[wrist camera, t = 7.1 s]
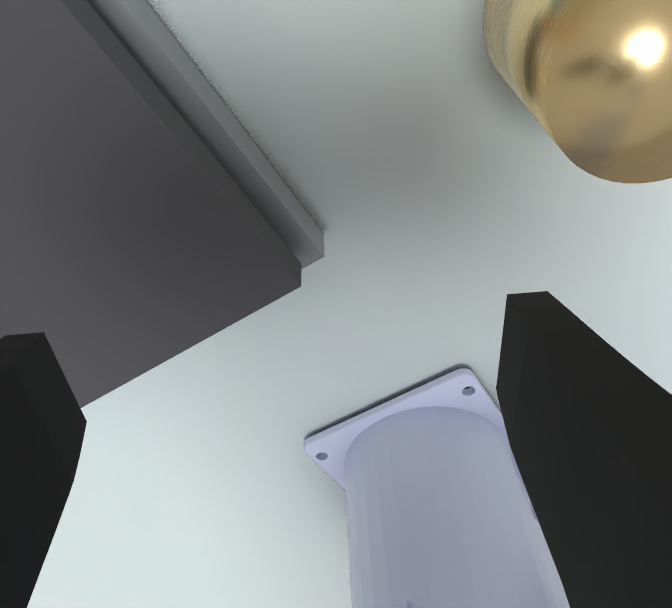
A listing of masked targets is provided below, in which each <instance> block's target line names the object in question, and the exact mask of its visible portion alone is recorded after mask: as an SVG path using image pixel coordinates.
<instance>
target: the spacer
mask: <svg viewBox="0 0 672 608" xmlns="http://www.w3.org/2000/svg"><path fill="white" fill-rule="evenodd" d="M483 29H484V39H485V43H486V48H487V51H488V54H489V56H490V59H491V61H492V63H493V65H494V67H495V68H496V70H497V72H498V73H499V74H500V75H501V77H502V78H503V79H504V80H505V82H506V83H507V84H508V85H509V86H510V88H511V89H512V90H513V91H514V93H515V94H516V95H517V96H518V97H519V99H520V100H521V101H522V102H523V104H524V105H525V106H526V107H527V108H528V110H529V111H530V112H531V113H532V114H533V116H534V117H535V118H536V119H537V121H538V122H539V123H540V124H541V125H542V127H543V128H544V129H545V130H546V132H547V133H548V134H549V135H550V136H551V138H552V139H553V140H554V141H555V143H556V144H557V145H558V146H559V147H560V149H561V150H562V151H563V152H564V153H565V155H566V156H567V157H568V158H569V159H570V160H571V161H572V162H573V163H574V164H576V165H577V166H578V167H580V168H581V169H583V170H584V171H586V172H587V173H590V174H592V175H594V176H596V177H599V178H602V179H605V180H609V181H613V182H621V183H647V182H655V181H660V180H664V179H668V178H672V0H486V1H485V8H484V20H483Z"/></svg>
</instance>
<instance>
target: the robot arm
mask: <svg viewBox="0 0 672 608" xmlns="http://www.w3.org/2000/svg"><path fill="white" fill-rule="evenodd" d="M468 386H471V387H470V388H467V389H464V388H465V387H468ZM496 391H497V395H498V399H499V404H500V408H501V412H502V413H501V412H500V410H499V409H498V407H497V406H496V405H495V403H494V402H493V400H492V399H491V397H490V396H489V395H488V393H487V392H486V390H485V389H484V387H483V386H482V385H481V383H480V382H479V380H478V379H477V377H476V376H475V375H474V373H473V372H472V371H471V370H469V369H466V368H461V369H457V370H455V371H453V372H450V373H448V374H446V375H444V376H442V377H440V378H437V379H435V380H433V381H431V382H429V383H426V384H424V385H422V386H420V387H418V388H416V389H413V390H411V391H409V392H407V393H405V394H403V395H400V396H398V397H396V398H394V399H392V400H389V401H387V402H385V403H383V404H381V405H379V406H376V407H374V408H372V409H370V410H368V411H366V412H363V413H361V414H359V415H357V416H355V417H352V418H350V419H348V420H346V421H344V422H342V423H339V424H337V425H335V426H333V427H331V428H329V429H326V430H324V431H322V432H320V433H318V434H315V435H313V436H311V437H309V438H307V439H306V440H305V442H304V452H305V453H306V454H307V455H308V456H309V457H310V458H311V459H312V460H313V461H314V462H315V463H316V464H317V465H318V466H319V467H321V468H322V469H323V470H324V471H325V472H326V473H327V474H328V475H329V476H330V477H331V478H332V479H333V480H334V481H335V482H336V483H337V484H339V485H340V486H341V487H342V488H343V489H344V490H345V491H346V507H347V526H348V544H349V563H350V581H351V600H352V608H672V395H671V394H670V393H669V392H667V391H666V390H665V389H663V388H662V387H661V386H659V385H658V384H657V383H656V382H654V381H653V380H652V379H651V378H649V377H648V376H647V375H646V374H644V373H643V372H642V371H641V370H639V369H638V368H637V367H636V366H634V365H633V364H632V363H631V362H630V361H628V360H627V359H626V358H625V357H623V356H622V355H621V354H620V353H619V352H618V351H616V350H615V349H614V348H613V347H612V346H610V345H609V344H608V343H607V342H606V341H604V340H603V339H602V338H601V337H600V336H599V335H597V334H596V333H595V332H594V331H593V330H592V329H591V328H589V327H588V326H587V325H586V324H585V323H584V322H582V321H581V320H580V319H579V318H578V317H577V316H576V315H574V314H573V313H572V312H571V311H570V310H569V309H568V308H566V307H565V306H564V305H563V304H562V303H561V302H559V301H558V300H557V299H556V298H555V297H554V296H552V295H551V294H550V293H549V292H548V291H543V292H531V293H519V294H507V300H506V309H505V318H504V326H503V335H502V344H501V352H500V361H499V370H498V378H497V387H496ZM86 422H87V421H86V419H85V417H84V415H83V413H82V411H81V409H80V407H79V405H78V402H77V400H76V398H75V396H74V394H73V392H72V390H71V388H70V386H69V384H68V382H67V379H66V377H65V375H64V373H63V371H62V369H61V367H60V365H59V363H58V361H57V359H56V356H55V354H54V352H53V350H52V348H51V346H50V344H49V342H48V340H47V338H46V336H45V333H44V332H40V333H27V334H15V335H5V336H4V337H2V338H1V339H0V608H27V605H28V603H29V600H30V597H31V595H32V592H33V589H34V587H35V584H36V582H37V579H38V576H39V574H40V571H41V568H42V566H43V563H44V560H45V558H46V555H47V552H48V550H49V547H50V544H51V542H52V539H53V536H54V534H55V531H56V528H57V526H58V523H59V520H60V517H61V515H62V512H63V509H64V506H65V504H66V501H67V498H68V496H69V493H70V490H71V487H72V484H73V481H74V477H75V473H76V469H77V465H78V461H79V457H80V452H81V447H82V442H83V437H84V432H85V427H86ZM321 452H323V453H321ZM560 579H561V580H560ZM561 582H562V583H561ZM562 585H563V586H562ZM563 588H564V589H563Z"/></svg>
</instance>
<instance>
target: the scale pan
mask: <svg viewBox="0 0 672 608" xmlns="http://www.w3.org/2000/svg"><path fill="white" fill-rule="evenodd" d="M300 286H301V262H300V261H299V260H298V259H297V257H296V256H295V255H294V254H293V252H292V251H291V250H290V249H289V247H288V246H287V245H286V244H285V243H284V241H283V240H282V239H281V238H280V236H279V235H278V234H277V233H276V232H275V230H274V229H273V228H272V227H271V225H270V224H269V223H268V222H267V221H266V219H265V218H264V217H263V216H262V214H261V213H260V212H259V211H258V210H257V208H256V207H255V206H254V205H253V203H252V202H251V201H250V200H249V199H248V197H247V196H246V195H245V194H244V192H243V191H242V190H241V189H240V188H239V186H238V185H237V184H236V183H235V181H234V180H233V179H232V178H231V176H230V175H229V174H228V173H227V172H226V170H225V169H224V168H223V167H222V165H221V164H220V163H219V162H218V161H217V159H216V158H215V157H214V156H213V154H212V153H211V152H210V151H209V150H208V148H207V147H206V146H205V145H204V143H203V142H202V141H201V140H200V139H199V137H198V136H197V135H196V134H195V132H194V131H193V130H192V129H191V128H190V126H189V125H188V124H187V123H186V121H185V120H184V119H183V118H182V116H181V115H180V114H179V113H178V112H177V110H176V109H175V108H174V107H173V105H172V104H171V103H170V102H169V101H168V99H167V98H166V97H165V96H164V94H163V93H162V92H161V91H160V90H159V88H158V87H157V86H156V85H155V83H154V82H153V81H152V80H151V79H150V77H149V76H148V75H147V74H146V72H145V71H144V70H143V69H142V68H141V66H140V65H139V64H138V63H137V61H136V60H135V59H134V58H133V57H132V55H131V54H130V53H129V52H128V50H127V49H126V48H125V47H124V45H123V44H122V43H121V42H120V41H119V39H118V38H117V37H116V36H115V34H114V33H113V32H112V31H111V30H110V28H109V27H108V26H107V25H106V23H105V22H104V21H103V20H102V19H101V17H100V16H99V15H98V14H97V12H96V11H95V10H94V9H93V8H92V6H91V5H90V4H89V3H88V1H87V0H0V339H1V338H2V337H4V336H5V335H15V334H27V333H40V332H44V333H45V336H46V338H47V340H48V342H49V344H50V346H51V348H52V350H53V352H54V354H55V356H56V359H57V361H58V363H59V365H60V367H61V369H62V371H63V373H64V375H65V377H66V379H67V382H68V384H69V386H70V388H71V390H72V392H73V394H74V396H75V398H76V400H77V402H78V405H79V407H80V408H82V407H84V406H85V405H87V404H89V403H91V402H93V401H94V400H96V399H98V398H100V397H102V396H103V395H105V394H107V393H109V392H111V391H112V390H114V389H116V388H118V387H120V386H121V385H123V384H125V383H127V382H129V381H131V380H132V379H134V378H136V377H138V376H140V375H141V374H143V373H145V372H147V371H149V370H150V369H152V368H154V367H156V366H158V365H159V364H161V363H163V362H165V361H167V360H168V359H170V358H172V357H174V356H176V355H178V354H179V353H181V352H183V351H185V350H187V349H188V348H190V347H192V346H194V345H196V344H197V343H199V342H201V341H203V340H205V339H206V338H208V337H210V336H212V335H214V334H216V333H217V332H219V331H221V330H223V329H225V328H226V327H228V326H230V325H232V324H234V323H235V322H237V321H239V320H241V319H243V318H244V317H246V316H248V315H250V314H252V313H253V312H255V311H257V310H259V309H261V308H263V307H264V306H266V305H268V304H270V303H272V302H273V301H275V300H277V299H279V298H281V297H282V296H284V295H286V294H288V293H290V292H291V291H293V290H295V289H297V288H299V287H300Z"/></svg>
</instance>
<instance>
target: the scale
mask: <svg viewBox="0 0 672 608" xmlns="http://www.w3.org/2000/svg"><path fill="white" fill-rule="evenodd" d="M87 1H88V3H89V4H90V5H91V6H92V8H93V9H94V10H95V11H96V12H97V14H98V15H99V16H100V17H101V19H102V20H103V21H104V22H105V23H106V25H107V26H108V27H109V28H110V30H111V31H112V32H113V33H114V34H115V36H116V37H117V38H118V39H119V41H120V42H121V43H122V44H123V45H124V47H125V48H126V49H127V50H128V52H129V53H130V54H131V55H132V57H133V58H134V59H135V60H136V61H137V63H138V64H139V65H140V66H141V68H142V69H143V70H144V71H145V72H146V74H147V75H148V76H149V77H150V79H151V80H152V81H153V82H154V83H155V85H156V86H157V87H158V88H159V90H160V91H161V92H162V93H163V94H164V96H165V97H166V98H167V99H168V101H169V102H170V103H171V104H172V105H173V107H174V108H175V109H176V110H177V112H178V113H179V114H180V115H181V116H182V118H183V119H184V120H185V121H186V123H187V124H188V125H189V126H190V128H191V129H192V130H193V131H194V132H195V134H196V135H197V136H198V137H199V139H200V140H201V141H202V142H203V143H204V145H205V146H206V147H207V148H208V150H209V151H210V152H211V153H212V154H213V156H214V157H215V158H216V159H217V161H218V162H219V163H220V164H221V165H222V167H223V168H224V169H225V170H226V172H227V173H228V174H229V175H230V176H231V178H232V179H233V180H234V181H235V183H236V184H237V185H238V186H239V188H240V189H241V190H242V191H243V192H244V194H245V195H246V196H247V197H248V199H249V200H250V201H251V202H252V203H253V205H254V206H255V207H256V208H257V210H258V211H259V212H260V213H261V214H262V216H263V217H264V218H265V219H266V221H267V222H268V223H269V224H270V225H271V227H272V228H273V229H274V230H275V232H276V233H277V234H278V235H279V236H280V238H281V239H282V240H283V241H284V243H285V244H286V245H287V246H288V247H289V249H290V250H291V251H292V252H293V254H294V255H295V256H296V257H297V259H298V260H299V261H300V262H301V269H303V268H304V267H306V266H308V265H310V264H312V263H313V262H315V261H317V260H319V259H320V258H322V257H324V244H323V231H322V230H321V229H320V227H319V226H318V225H317V224H316V222H315V221H314V220H313V218H312V217H311V216H310V214H309V213H308V212H307V210H306V209H305V208H304V206H303V205H302V204H301V203H300V201H299V200H298V199H297V197H296V196H295V195H294V193H293V192H292V191H291V189H290V188H289V187H288V185H287V184H286V183H285V181H284V180H283V179H282V178H281V176H280V175H279V174H278V172H277V171H276V170H275V168H274V167H273V166H272V164H271V163H270V162H269V160H268V159H267V158H266V157H265V155H264V154H263V153H262V151H261V150H260V149H259V147H258V146H257V145H256V143H255V142H254V141H253V139H252V138H251V137H250V136H249V134H248V133H247V132H246V130H245V129H244V128H243V126H242V125H241V124H240V122H239V121H238V120H237V118H236V117H235V116H234V114H233V113H232V112H231V111H230V109H229V108H228V107H227V105H226V104H225V103H224V101H223V100H222V99H221V97H220V96H219V95H218V93H217V92H216V91H215V90H214V88H213V87H212V86H211V84H210V83H209V82H208V80H207V79H206V78H205V76H204V75H203V74H202V72H201V71H200V70H199V68H198V67H197V66H196V65H195V63H194V62H193V61H192V59H191V58H190V57H189V55H188V54H187V53H186V51H185V50H184V49H183V47H182V46H181V45H180V44H179V42H178V41H177V40H176V38H175V37H174V36H173V34H172V33H171V32H170V30H169V29H168V28H167V26H166V25H165V24H164V22H163V21H162V20H161V19H160V17H159V16H158V15H157V13H156V12H155V11H154V9H153V8H152V7H151V5H150V4H149V3H148V1H147V0H87Z"/></svg>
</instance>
